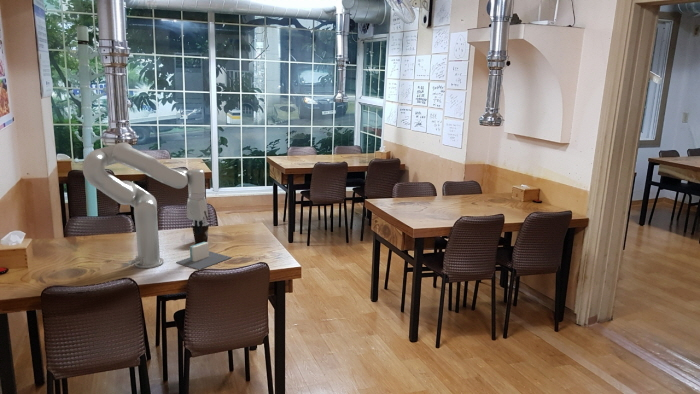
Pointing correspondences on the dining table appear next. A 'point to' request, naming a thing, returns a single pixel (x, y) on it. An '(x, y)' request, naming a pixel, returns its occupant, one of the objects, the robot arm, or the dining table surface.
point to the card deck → (199, 251)
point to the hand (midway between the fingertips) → (198, 233)
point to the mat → (204, 261)
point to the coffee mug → (203, 236)
